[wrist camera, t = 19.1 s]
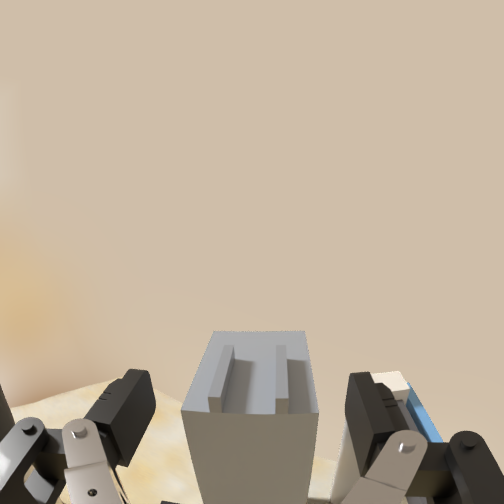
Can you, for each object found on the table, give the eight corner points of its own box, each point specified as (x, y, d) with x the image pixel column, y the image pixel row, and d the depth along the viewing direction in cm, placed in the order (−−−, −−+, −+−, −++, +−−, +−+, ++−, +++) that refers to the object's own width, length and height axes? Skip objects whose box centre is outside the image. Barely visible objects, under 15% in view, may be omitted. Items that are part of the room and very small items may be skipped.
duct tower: (294, 563, 27) (320, 397, 20) (222, 561, 27) (177, 394, 21) (293, 495, 40) (305, 318, 34) (232, 495, 41) (212, 318, 34)
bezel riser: (390, 550, 26) (450, 455, 21) (337, 559, 26) (375, 472, 21) (375, 487, 39) (408, 382, 35) (329, 493, 40) (350, 389, 35)
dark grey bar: (455, 533, 13) (475, 509, 12) (413, 547, 13) (431, 526, 12) (393, 396, 34) (399, 370, 34) (364, 400, 35) (368, 374, 34)
